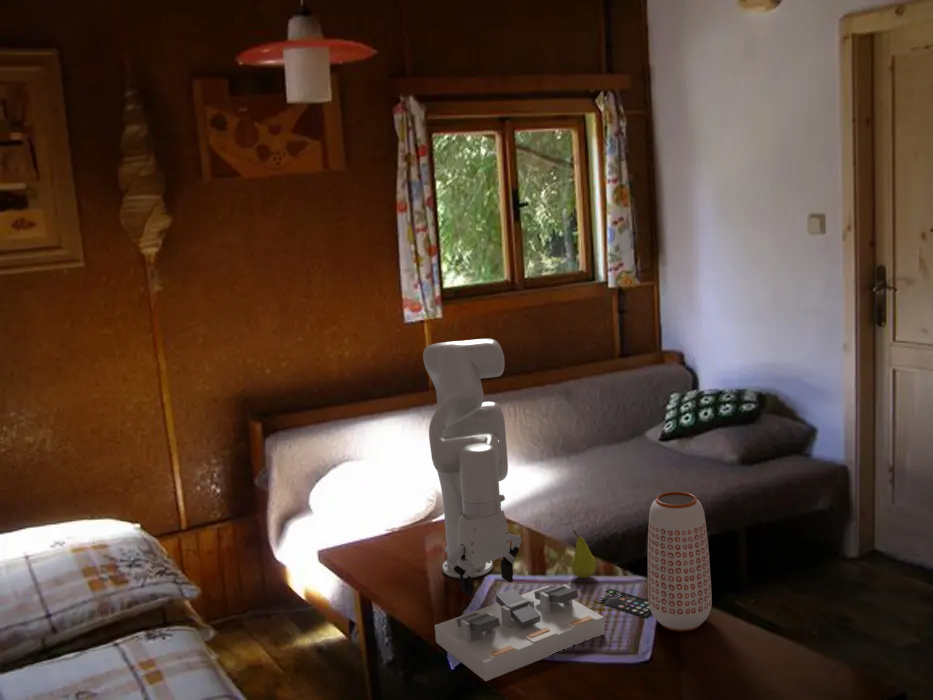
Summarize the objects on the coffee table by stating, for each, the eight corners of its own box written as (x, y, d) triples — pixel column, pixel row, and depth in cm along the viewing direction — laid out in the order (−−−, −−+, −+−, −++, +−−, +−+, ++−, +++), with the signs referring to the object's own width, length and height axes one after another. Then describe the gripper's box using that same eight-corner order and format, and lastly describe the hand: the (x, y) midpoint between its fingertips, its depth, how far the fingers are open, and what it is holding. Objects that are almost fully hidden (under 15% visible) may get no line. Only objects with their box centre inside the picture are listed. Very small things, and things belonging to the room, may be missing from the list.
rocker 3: (535, 599, 218) (533, 589, 218) (552, 593, 220) (550, 583, 220) (561, 603, 209) (559, 593, 209) (578, 597, 211) (576, 587, 211)
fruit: (600, 579, 237) (598, 532, 234) (579, 584, 234) (576, 537, 232) (589, 570, 242) (586, 524, 239) (568, 575, 240) (565, 529, 237)
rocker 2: (495, 600, 213) (496, 592, 212) (513, 594, 215) (514, 586, 214) (521, 628, 205) (522, 620, 204) (539, 621, 207) (540, 613, 206)
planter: (713, 637, 205) (710, 509, 200) (648, 636, 208) (643, 509, 202) (711, 608, 218) (707, 487, 212) (649, 607, 221) (644, 487, 215)
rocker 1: (457, 626, 208) (455, 616, 208) (476, 620, 210) (474, 610, 210) (481, 632, 199) (479, 622, 199) (500, 625, 202) (498, 615, 202)
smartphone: (609, 588, 231) (664, 604, 221) (609, 590, 231) (664, 607, 221) (590, 600, 226) (645, 617, 215) (590, 602, 226) (646, 620, 216)
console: (436, 642, 212) (433, 608, 211) (549, 601, 227) (547, 569, 225) (485, 681, 195) (482, 644, 194) (604, 634, 210) (602, 599, 208)
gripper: (507, 491, 203) (512, 569, 207) (434, 511, 195) (441, 593, 198) (528, 500, 197) (533, 580, 200) (453, 522, 188) (460, 605, 192)
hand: (487, 586), depth 199 cm, fingers open, 9 cm apart
